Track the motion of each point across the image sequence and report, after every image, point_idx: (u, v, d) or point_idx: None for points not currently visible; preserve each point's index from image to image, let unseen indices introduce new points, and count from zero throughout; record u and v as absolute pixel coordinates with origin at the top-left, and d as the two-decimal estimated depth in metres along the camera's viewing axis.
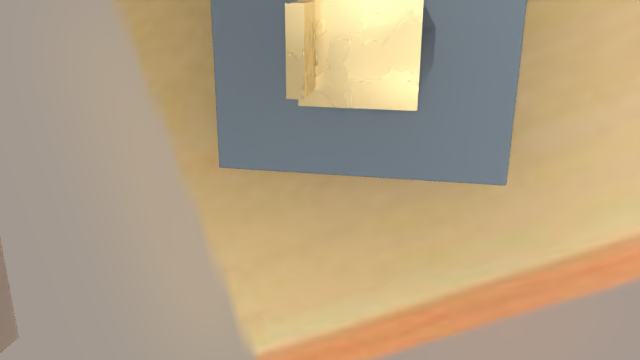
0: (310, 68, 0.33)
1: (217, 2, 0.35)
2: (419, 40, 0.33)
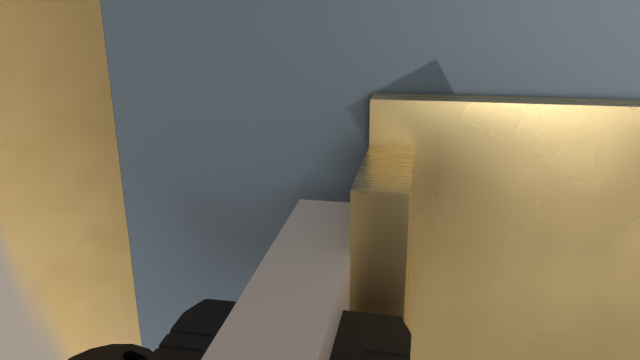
0: None
1: (131, 132, 0.15)
2: None
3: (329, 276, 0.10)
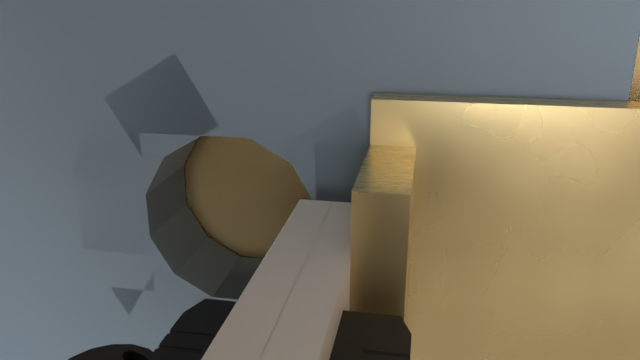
0: None
1: None
2: None
3: (329, 276, 0.10)
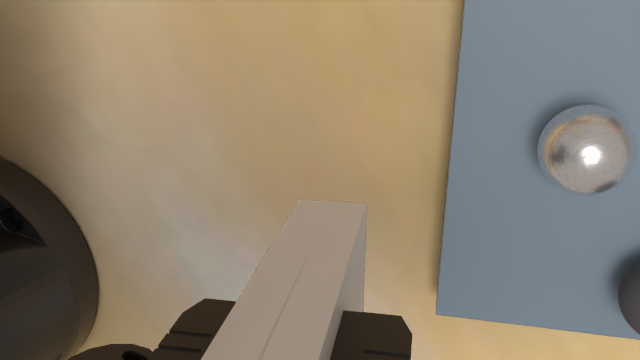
0: None
1: None
2: None
3: (329, 276, 0.10)
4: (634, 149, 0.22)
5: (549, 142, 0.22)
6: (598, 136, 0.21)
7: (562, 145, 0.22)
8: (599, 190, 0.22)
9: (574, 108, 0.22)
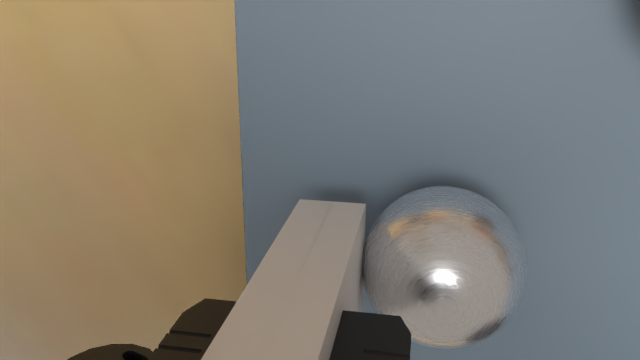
0: None
1: None
2: None
3: (329, 276, 0.10)
4: (518, 274, 0.12)
5: (371, 259, 0.12)
6: (448, 256, 0.11)
7: (388, 269, 0.12)
8: (460, 346, 0.12)
9: (415, 196, 0.12)
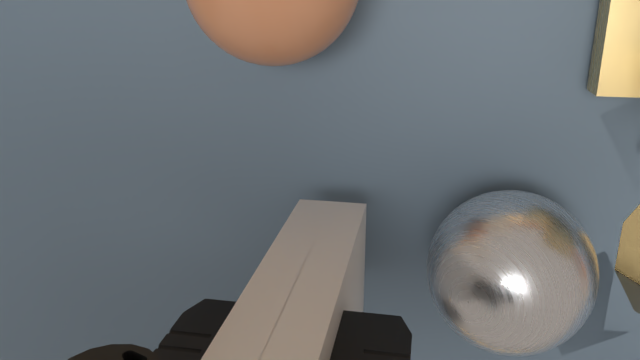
0: None
1: None
2: None
3: (330, 276, 0.10)
4: (562, 293, 0.11)
5: None
6: (480, 254, 0.11)
7: (434, 255, 0.12)
8: (495, 351, 0.12)
9: (486, 194, 0.13)
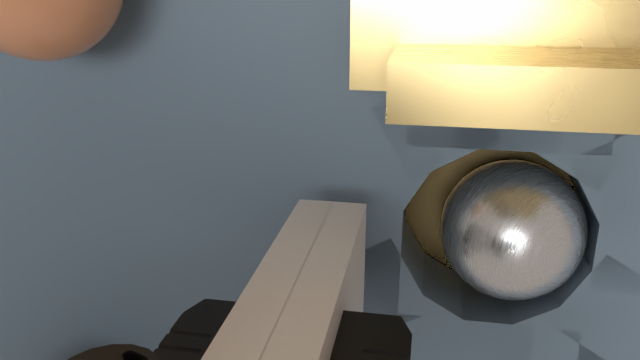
0: (597, 55, 0.10)
1: None
2: None
3: (330, 276, 0.10)
4: (443, 211, 0.15)
5: None
6: None
7: None
8: None
9: (535, 163, 0.15)
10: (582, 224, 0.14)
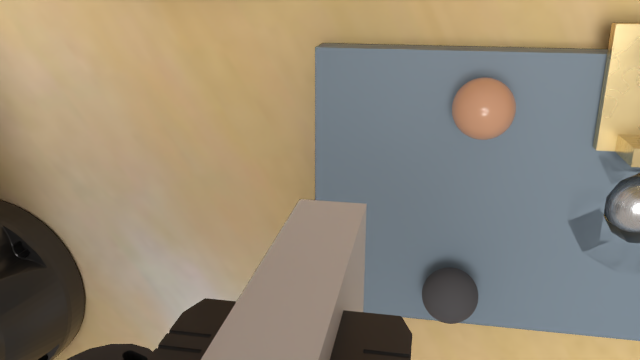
0: None
1: (583, 329, 0.39)
2: None
3: (330, 276, 0.10)
4: None
5: None
6: None
7: None
8: None
9: None
10: None
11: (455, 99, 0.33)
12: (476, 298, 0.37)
